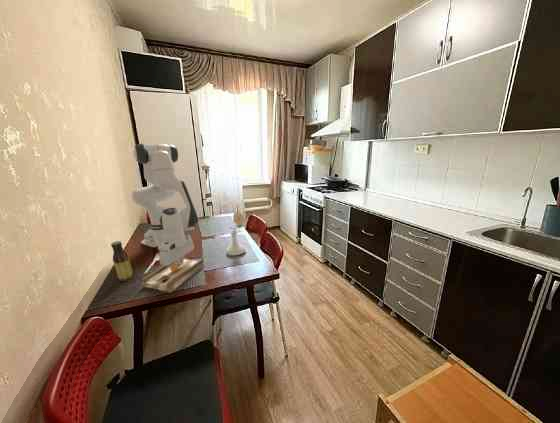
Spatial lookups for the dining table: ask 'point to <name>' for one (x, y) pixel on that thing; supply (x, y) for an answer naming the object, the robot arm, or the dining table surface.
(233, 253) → the flower in vase
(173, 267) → the ball
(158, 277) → the beige tray
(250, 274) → the dining table surface
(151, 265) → the fork
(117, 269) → the sauce bottle
